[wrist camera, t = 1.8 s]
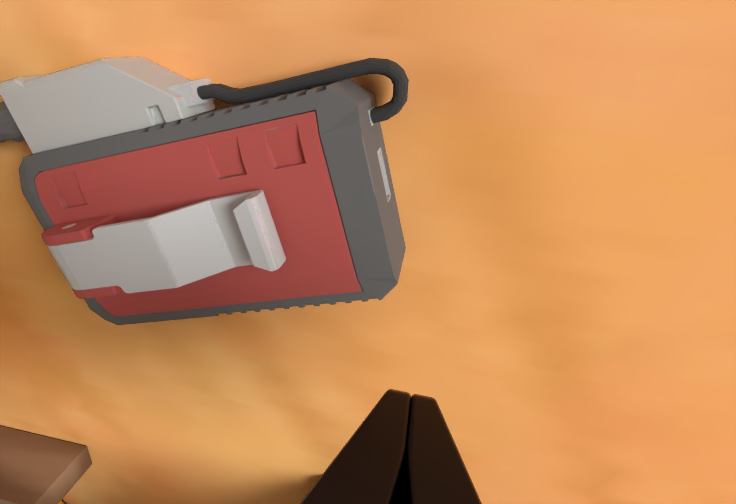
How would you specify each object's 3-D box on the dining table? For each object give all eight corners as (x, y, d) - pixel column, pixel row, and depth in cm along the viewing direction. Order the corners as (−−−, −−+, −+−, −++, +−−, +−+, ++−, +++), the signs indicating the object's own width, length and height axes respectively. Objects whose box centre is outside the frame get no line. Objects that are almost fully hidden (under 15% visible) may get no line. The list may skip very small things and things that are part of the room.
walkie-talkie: (395, -22, 12) (-100, 122, 17) (366, -52, 8) (-267, 148, 13) (442, 259, 15) (22, 308, 20) (439, 335, 11) (-80, 372, 16)
